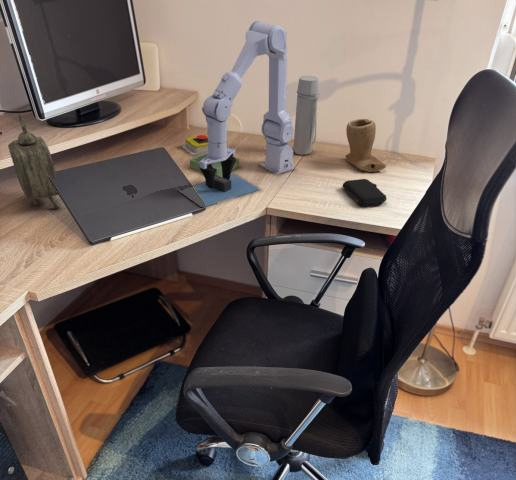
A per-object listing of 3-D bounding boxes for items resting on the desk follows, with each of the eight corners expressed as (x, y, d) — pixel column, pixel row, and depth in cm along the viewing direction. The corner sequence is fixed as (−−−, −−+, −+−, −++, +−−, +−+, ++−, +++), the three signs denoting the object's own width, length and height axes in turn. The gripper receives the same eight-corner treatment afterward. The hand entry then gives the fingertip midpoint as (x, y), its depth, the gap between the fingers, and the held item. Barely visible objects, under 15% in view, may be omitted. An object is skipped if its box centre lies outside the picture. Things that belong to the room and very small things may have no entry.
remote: (231, 188, 159) (231, 179, 157) (224, 192, 157) (224, 183, 155) (212, 181, 162) (212, 172, 160) (205, 185, 160) (205, 176, 158)
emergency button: (180, 135, 182) (217, 129, 188) (181, 147, 185) (217, 141, 191) (191, 143, 176) (228, 137, 182) (191, 156, 179) (228, 149, 185)
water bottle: (287, 151, 184) (292, 77, 168) (302, 146, 189) (308, 73, 172) (305, 159, 180) (312, 83, 163) (320, 154, 184) (328, 79, 167)
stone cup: (336, 159, 180) (341, 115, 170) (365, 155, 184) (372, 113, 174) (355, 176, 170) (362, 130, 160) (386, 172, 173) (395, 127, 163)
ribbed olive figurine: (65, 210, 146) (42, 121, 129) (33, 216, 142) (5, 126, 126) (53, 190, 155) (31, 105, 138) (23, 196, 152) (-4, 109, 135)
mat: (259, 190, 160) (259, 189, 159) (201, 208, 149) (201, 207, 149) (234, 175, 168) (234, 174, 167) (177, 191, 157) (177, 190, 157)
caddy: (239, 167, 172) (239, 158, 170) (217, 178, 165) (217, 169, 163) (212, 158, 178) (212, 150, 176) (190, 168, 171) (189, 159, 169)
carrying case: (391, 204, 154) (369, 185, 165) (393, 195, 152) (370, 176, 163) (359, 208, 152) (339, 188, 162) (361, 199, 150) (341, 179, 160)
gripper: (222, 131, 156) (223, 173, 165) (191, 143, 147) (193, 187, 156) (240, 136, 153) (240, 179, 162) (209, 149, 144) (210, 194, 153)
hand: (218, 183), depth 159 cm, fingers open, 7 cm apart
